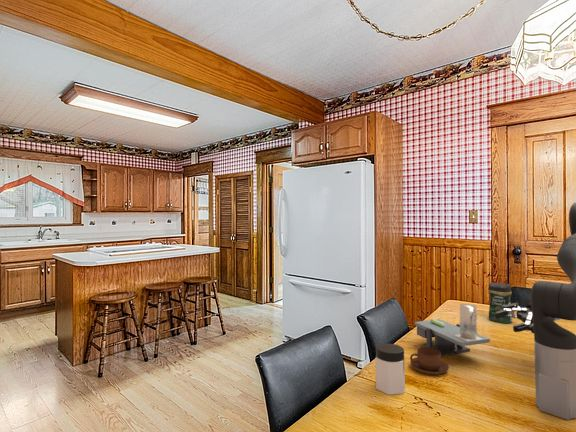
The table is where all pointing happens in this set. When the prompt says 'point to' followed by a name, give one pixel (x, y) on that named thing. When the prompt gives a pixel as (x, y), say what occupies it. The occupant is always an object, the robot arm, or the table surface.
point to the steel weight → (468, 321)
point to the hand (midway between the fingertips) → (504, 322)
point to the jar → (390, 369)
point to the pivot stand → (444, 344)
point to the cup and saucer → (429, 361)
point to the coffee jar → (499, 300)
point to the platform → (447, 332)
